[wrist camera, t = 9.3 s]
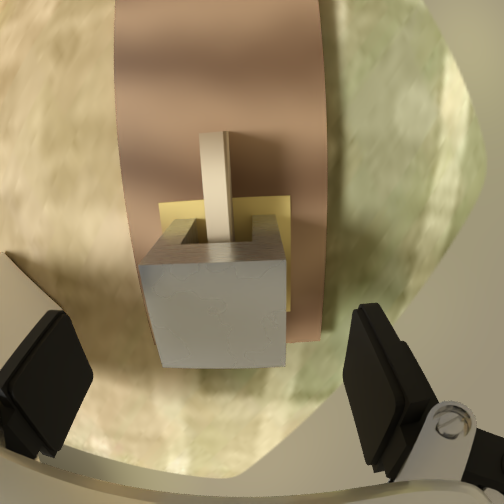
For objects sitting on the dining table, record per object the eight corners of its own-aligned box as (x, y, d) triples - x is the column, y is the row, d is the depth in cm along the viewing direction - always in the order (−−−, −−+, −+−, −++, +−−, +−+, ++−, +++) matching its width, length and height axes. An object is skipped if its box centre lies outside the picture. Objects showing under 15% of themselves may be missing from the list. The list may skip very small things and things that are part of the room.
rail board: (123, 4, 13) (93, -20, 9) (311, -15, 13) (326, -47, 9) (158, 334, 21) (142, 374, 17) (317, 330, 21) (328, 371, 17)
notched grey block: (174, 219, 17) (138, 265, 11) (275, 214, 17) (286, 259, 11) (185, 300, 19) (162, 367, 13) (276, 297, 19) (285, 366, 13)
